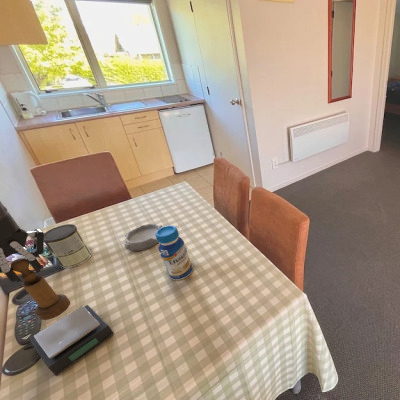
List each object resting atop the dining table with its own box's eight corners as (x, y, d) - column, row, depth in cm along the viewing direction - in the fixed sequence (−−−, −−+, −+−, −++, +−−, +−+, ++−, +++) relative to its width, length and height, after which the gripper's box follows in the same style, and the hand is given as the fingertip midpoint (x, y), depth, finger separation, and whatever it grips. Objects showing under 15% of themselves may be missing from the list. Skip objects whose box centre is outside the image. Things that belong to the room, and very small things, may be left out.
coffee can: (53, 267, 105) (33, 239, 98) (77, 250, 114) (60, 223, 107) (75, 269, 104) (57, 241, 96) (98, 252, 112) (82, 224, 105)
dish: (165, 229, 126) (162, 220, 123) (160, 247, 114) (156, 238, 112) (131, 235, 122) (127, 227, 119) (122, 255, 110) (117, 246, 108)
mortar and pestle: (45, 304, 74) (6, 255, 65) (74, 296, 76) (40, 248, 67) (34, 323, 69) (-10, 274, 60) (65, 315, 71) (27, 265, 62)
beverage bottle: (185, 261, 107) (171, 221, 97) (198, 270, 102) (184, 228, 92) (165, 274, 101) (147, 232, 91) (177, 284, 96) (159, 241, 86)
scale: (56, 377, 70) (47, 367, 67) (37, 348, 77) (27, 338, 74) (114, 334, 80) (108, 324, 78) (93, 312, 87) (86, 302, 84)
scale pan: (50, 359, 69) (49, 357, 69) (34, 337, 74) (33, 335, 74) (100, 324, 78) (99, 323, 77) (83, 307, 83) (82, 305, 82)
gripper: (20, 199, 64) (57, 253, 73) (-73, 229, 54) (-17, 288, 62) (32, 207, 61) (69, 263, 69) (-66, 241, 50) (-8, 302, 59)
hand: (28, 275), depth 66 cm, fingers closed on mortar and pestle, 3 cm apart
